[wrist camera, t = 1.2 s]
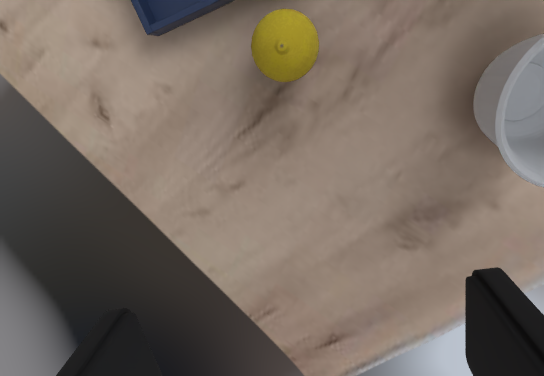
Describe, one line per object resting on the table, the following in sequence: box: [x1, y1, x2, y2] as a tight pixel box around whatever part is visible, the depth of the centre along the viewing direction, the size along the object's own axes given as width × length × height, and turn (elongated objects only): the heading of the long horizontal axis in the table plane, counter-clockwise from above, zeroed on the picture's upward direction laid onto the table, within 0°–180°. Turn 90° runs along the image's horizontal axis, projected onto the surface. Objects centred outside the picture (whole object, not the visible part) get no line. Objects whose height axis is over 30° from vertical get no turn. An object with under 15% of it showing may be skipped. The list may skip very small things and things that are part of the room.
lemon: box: [251, 9, 319, 82], centre depth 28 cm, size 6×6×8 cm
